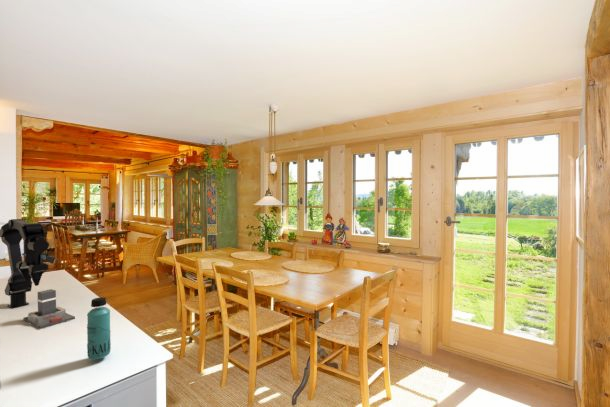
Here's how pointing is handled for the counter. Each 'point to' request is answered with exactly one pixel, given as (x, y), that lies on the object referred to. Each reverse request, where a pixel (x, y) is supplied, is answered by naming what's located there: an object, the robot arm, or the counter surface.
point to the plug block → (46, 302)
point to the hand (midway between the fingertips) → (32, 284)
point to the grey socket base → (48, 318)
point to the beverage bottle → (98, 330)
